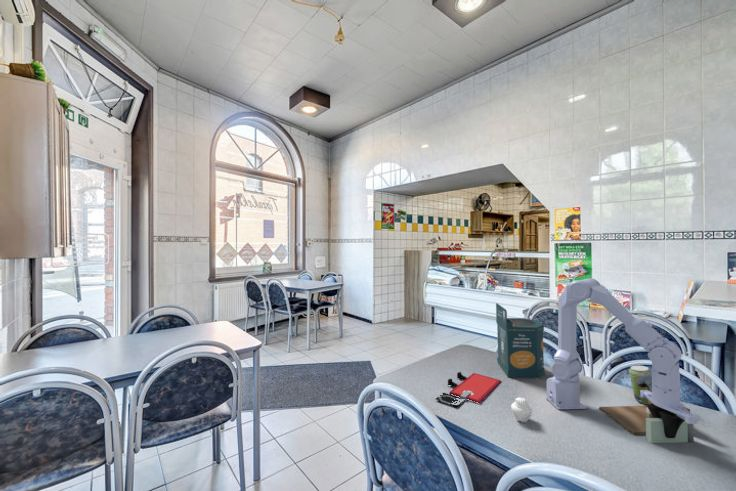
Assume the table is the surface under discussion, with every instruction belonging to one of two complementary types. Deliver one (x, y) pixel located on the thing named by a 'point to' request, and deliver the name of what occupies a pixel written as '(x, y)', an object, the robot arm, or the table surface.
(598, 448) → the table surface
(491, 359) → the table surface
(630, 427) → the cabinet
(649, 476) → the table surface
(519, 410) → the muffin
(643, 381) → the beverage can
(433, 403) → the table surface
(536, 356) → the donation box
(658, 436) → the green piece
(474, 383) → the red board with handle
